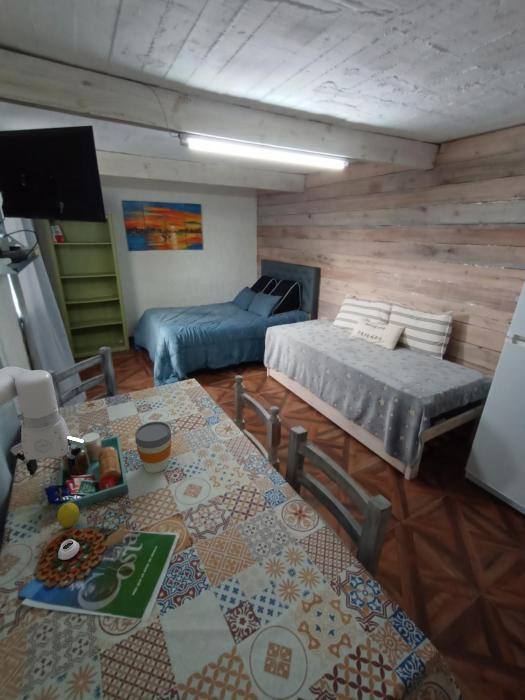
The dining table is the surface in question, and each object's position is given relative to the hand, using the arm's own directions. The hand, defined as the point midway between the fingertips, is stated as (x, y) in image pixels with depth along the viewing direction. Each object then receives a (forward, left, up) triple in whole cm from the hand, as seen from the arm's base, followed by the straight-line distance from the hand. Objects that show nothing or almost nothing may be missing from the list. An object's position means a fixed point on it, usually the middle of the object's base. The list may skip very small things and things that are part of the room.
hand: (53, 469), depth 88 cm
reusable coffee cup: (+24, +21, -20) cm, 38 cm away
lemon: (+1, -1, -20) cm, 20 cm away
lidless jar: (+4, -10, -20) cm, 23 cm away
